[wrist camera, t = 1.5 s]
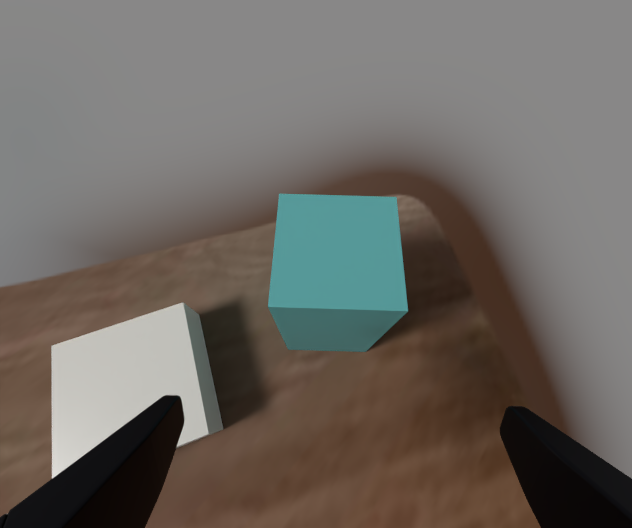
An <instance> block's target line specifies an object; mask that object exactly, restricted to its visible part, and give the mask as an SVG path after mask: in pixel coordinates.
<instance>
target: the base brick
mask: <svg viewBox="0 0 632 528" xmlns="http://www.w3.org/2000/svg"><path fill="white" fill-rule="evenodd" d="M165 395H178V396H180V397H181V400H182V405H183V411H184V426H183V429H182V432H181V435H180V438H179V441H178V444H177V447H176V448H179V447H181V446H184V445H186V444H189V443H191V442H194V441H196V440H198V439H201V438H203V437H206V436H208V435H211V434H213V433H216V432H218V431H221V430H223V425H222V420H221V415H220V410H219V406H218V401H217V396H216V392H215V387H214V382H213V378H212V373H211V368H210V364H209V359H208V354H207V349H206V345H205V340H204V335H203V331H202V326H201V321H200V317H199V314H198V313H196V312H195V311H194V310H192V309H191V308H190V307H189V306H187V305H186V304H185V303H180V304H177V305H174V306H171V307H168V308H165V309H162V310H159V311H155V312H152V313H149V314H146V315H143V316H140V317H137V318H134V319H131V320H128V321H125V322H122V323H119V324H116V325H113V326H110V327H107V328H104V329H101V330H98V331H95V332H92V333H89V334H86V335H83V336H80V337H77V338H74V339H71V340H68V341H65V342H62V343H59V344H56V345H53V346H52V478H54V477H55V476H56V475H58V474H59V473H60V472H62V471H63V470H65V469H66V468H67V467H69V466H70V465H71V464H73V463H74V462H75V461H77V460H78V459H79V458H81V457H82V456H83V455H85V454H86V453H87V452H89V451H90V450H91V449H93V448H94V447H95V446H97V445H98V444H99V443H101V442H102V441H103V440H105V439H106V438H107V437H109V436H110V435H111V434H113V433H114V432H115V431H117V430H118V429H120V428H121V427H122V426H124V425H125V424H126V423H128V422H129V421H130V420H132V419H133V418H134V417H136V416H137V415H138V414H140V413H141V412H142V411H144V410H145V409H146V408H148V407H149V406H150V405H152V404H153V403H154V402H156V401H157V400H158V399H160V398H161V397H163V396H165Z"/></svg>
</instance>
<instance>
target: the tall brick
mask: <svg viewBox="0 0 632 528" xmlns="http://www.w3.org/2000/svg"><path fill="white" fill-rule="evenodd" d="M268 308H269V310H270V312H271V314H272V316H273V318H274V320H275V323H276V325H277V327H278V329H279V331H280V333H281V335H282V337H283V339H284V342H285V344H286V346H287V348H288V350H321V351H353V352H366V351H367V350H368V349H369V348H370V347H371V346H372V345H373V344H374V343H375V342H376V341H377V340H378V339H380V338H381V337H382V336H383V335H384V334H385V333H386V332H387V331H388V330H389V329H390V328H391V327H392V326H393V325H394V324H395V323H396V322H397V321H398V320H399V319H400V318H402V317H403V316H404V315H405V314H406V313H407V312H408V305H407V295H406V286H405V276H404V266H403V257H402V247H401V237H400V228H399V218H398V208H397V199H396V197H375V196H340V195H305V194H279V202H278V213H277V222H276V232H275V242H274V252H273V262H272V273H271V283H270V293H269V303H268Z"/></svg>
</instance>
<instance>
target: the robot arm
mask: <svg viewBox="0 0 632 528" xmlns="http://www.w3.org/2000/svg"><path fill="white" fill-rule="evenodd" d="M183 426H184V411H183V405H182V400H181V397H180V396H178V395H165V396H163V397H161V398H160V399H158V400H157V401H156V402H154V403H153V404H152V405H150V406H149V407H148V408H146V409H145V410H144V411H142V412H141V413H140V414H138V415H137V416H136V417H134V418H133V419H132V420H130V421H129V422H128V423H126V424H125V425H124V426H122V427H121V428H120V429H118V430H117V431H115V432H114V433H113V434H111V435H110V436H109V437H107V438H106V439H105V440H103V441H102V442H101V443H99V444H98V445H97V446H95V447H94V448H93V449H91V450H90V451H89V452H87V453H86V454H85V455H83V456H82V457H81V458H79V459H78V460H77V461H75V462H74V463H73V464H71V465H70V466H69V467H67V468H66V469H65V470H63V471H62V472H60V473H59V474H58V475H56V476H55V477H54V478H52V479H51V480H50V481H48V482H47V483H46V484H44V485H43V486H42V487H40V488H39V489H38V490H36V491H35V492H34V493H32V494H31V495H30V496H28V497H27V498H26V499H24V500H23V501H22V502H20V503H19V504H18V505H16V506H15V507H14V508H12V509H11V510H10V511H9V513H8V514H4V515H3V516H1V517H0V528H145V526H146V524H147V522H148V519H149V517H150V515H151V513H152V510H153V508H154V506H155V504H156V502H157V499H158V497H159V495H160V492H161V490H162V487H163V485H164V482H165V479H166V476H167V473H168V470H169V468H170V465H171V462H172V459H173V456H174V453H175V450H176V447H177V444H178V441H179V438H180V435H181V432H182V429H183ZM500 435H501V438H502V441H503V443H504V446H505V448H506V451H507V453H508V456H509V458H510V460H511V463H512V465H513V468H514V470H515V473H516V475H517V477H518V480H519V482H520V485H521V487H522V489H523V492H524V494H525V496H526V499H527V501H528V503H529V505H530V507H531V509H532V511H533V513H534V515H535V517H536V519H537V521H538V523H539V525H540V527H541V528H632V479H631V478H630V477H628V476H627V475H625V474H624V473H622V472H621V471H619V470H618V469H616V468H615V467H613V466H612V465H610V464H609V463H607V462H606V461H604V460H603V459H602V458H600V457H598V456H597V455H596V454H594V453H593V452H591V451H590V450H588V449H587V448H585V447H584V446H582V445H581V444H579V443H578V442H576V441H574V440H573V439H572V438H570V437H569V436H567V435H566V434H564V433H563V432H561V431H560V430H558V429H557V428H555V427H554V426H552V425H551V424H550V423H548V422H547V421H545V420H544V419H542V418H541V417H539V416H538V415H536V414H535V413H533V412H532V411H530V410H529V409H527V408H525V407H522V406H509V407H507V408H506V410H505V414H504V417H503V420H502V423H501V426H500Z"/></svg>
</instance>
